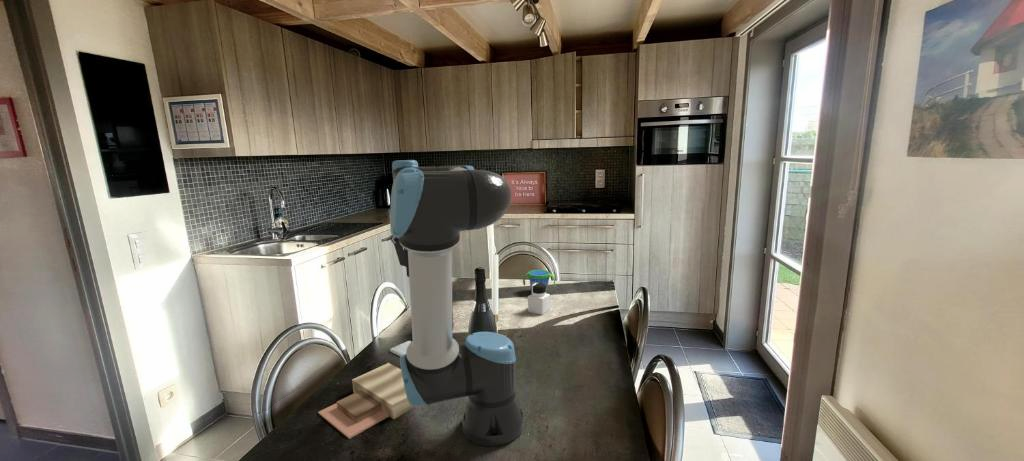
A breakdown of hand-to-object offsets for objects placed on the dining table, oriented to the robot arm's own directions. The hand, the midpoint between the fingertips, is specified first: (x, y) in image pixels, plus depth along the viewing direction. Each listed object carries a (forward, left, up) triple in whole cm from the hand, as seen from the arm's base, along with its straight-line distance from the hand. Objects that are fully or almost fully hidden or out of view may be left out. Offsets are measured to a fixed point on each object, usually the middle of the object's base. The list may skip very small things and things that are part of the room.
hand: (414, 286), depth 128 cm
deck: (-8, +16, -26) cm, 32 cm away
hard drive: (+9, -3, -27) cm, 29 cm away
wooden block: (-8, +26, -26) cm, 37 cm away
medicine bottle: (-4, -60, -27) cm, 66 cm away
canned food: (+14, -22, -27) cm, 37 cm away
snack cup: (+10, -79, -27) cm, 84 cm away
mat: (-8, +28, -26) cm, 39 cm away
